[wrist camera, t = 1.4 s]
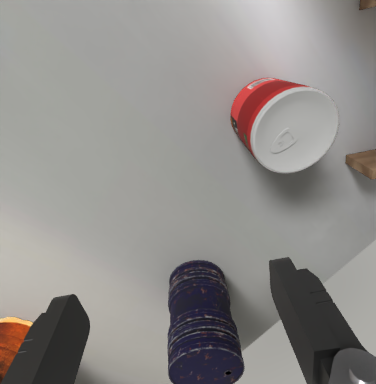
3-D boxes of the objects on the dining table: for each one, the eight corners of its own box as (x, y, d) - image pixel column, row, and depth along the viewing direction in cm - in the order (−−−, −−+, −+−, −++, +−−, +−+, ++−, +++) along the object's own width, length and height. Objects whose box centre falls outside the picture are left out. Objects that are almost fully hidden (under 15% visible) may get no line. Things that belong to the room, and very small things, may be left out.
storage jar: (164, 297, 48) (161, 390, 35) (173, 256, 43) (174, 344, 30) (217, 302, 49) (233, 394, 36) (231, 263, 45) (256, 350, 32)
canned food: (217, 123, 34) (235, 152, 24) (254, 63, 31) (292, 67, 21) (264, 151, 36) (299, 187, 26) (303, 97, 33) (359, 115, 23)
